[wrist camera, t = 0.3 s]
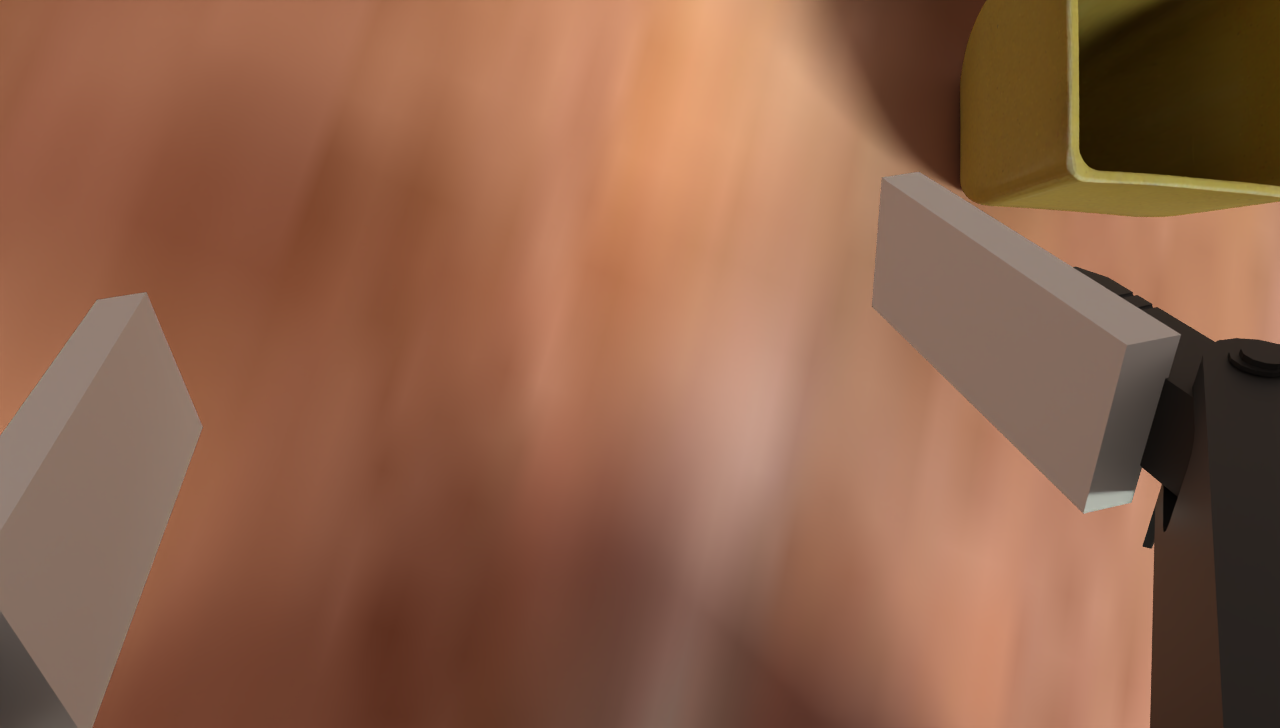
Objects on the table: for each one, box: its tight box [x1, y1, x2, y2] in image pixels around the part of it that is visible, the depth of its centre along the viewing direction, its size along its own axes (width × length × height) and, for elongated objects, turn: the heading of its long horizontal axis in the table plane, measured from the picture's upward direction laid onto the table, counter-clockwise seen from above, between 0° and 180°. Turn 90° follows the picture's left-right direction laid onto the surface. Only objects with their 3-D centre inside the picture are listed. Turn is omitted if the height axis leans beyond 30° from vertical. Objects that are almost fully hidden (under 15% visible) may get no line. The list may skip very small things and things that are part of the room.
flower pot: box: [960, 0, 1280, 217], centre depth 31 cm, size 9×9×9 cm
